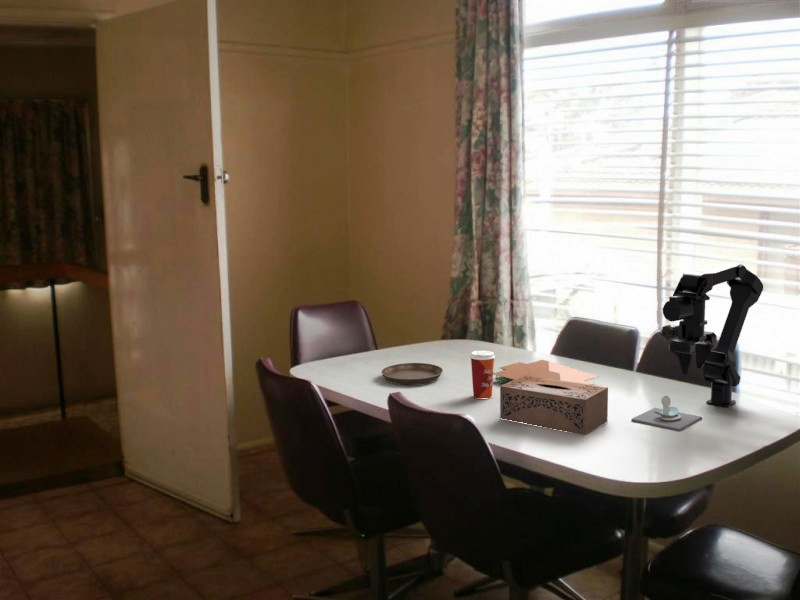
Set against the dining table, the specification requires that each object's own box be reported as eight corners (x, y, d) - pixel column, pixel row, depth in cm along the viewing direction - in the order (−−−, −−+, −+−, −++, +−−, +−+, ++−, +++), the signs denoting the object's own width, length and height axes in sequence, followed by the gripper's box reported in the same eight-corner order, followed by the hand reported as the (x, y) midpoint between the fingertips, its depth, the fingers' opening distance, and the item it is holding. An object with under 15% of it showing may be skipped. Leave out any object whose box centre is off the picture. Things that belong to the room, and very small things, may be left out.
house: (535, 370, 296) (535, 347, 295) (610, 389, 270) (611, 364, 269) (486, 381, 282) (486, 357, 281) (561, 402, 256) (561, 376, 255)
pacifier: (686, 419, 234) (669, 413, 239) (687, 397, 233) (670, 392, 238) (667, 423, 231) (650, 417, 236) (669, 401, 229) (652, 396, 235)
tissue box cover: (500, 420, 239) (500, 386, 238) (524, 408, 251) (524, 375, 249) (585, 436, 224) (585, 399, 222) (607, 422, 235) (608, 387, 234)
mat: (654, 409, 245) (654, 407, 245) (701, 418, 236) (701, 416, 236) (631, 420, 235) (631, 418, 235) (679, 430, 226) (679, 428, 226)
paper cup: (490, 401, 257) (490, 356, 255) (466, 398, 261) (466, 354, 258) (498, 394, 264) (498, 350, 262) (475, 392, 268) (475, 349, 265)
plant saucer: (422, 390, 272) (422, 380, 272) (369, 382, 283) (369, 373, 283) (454, 376, 289) (454, 367, 289) (403, 369, 300) (403, 360, 300)
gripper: (681, 309, 250) (679, 361, 252) (651, 318, 237) (650, 373, 239) (718, 313, 243) (716, 366, 245) (690, 323, 229) (688, 379, 232)
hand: (692, 371), depth 240 cm, fingers open, 9 cm apart
